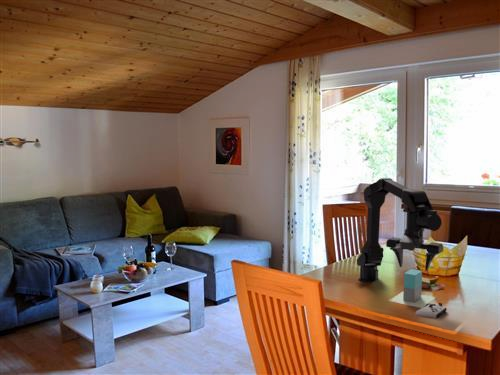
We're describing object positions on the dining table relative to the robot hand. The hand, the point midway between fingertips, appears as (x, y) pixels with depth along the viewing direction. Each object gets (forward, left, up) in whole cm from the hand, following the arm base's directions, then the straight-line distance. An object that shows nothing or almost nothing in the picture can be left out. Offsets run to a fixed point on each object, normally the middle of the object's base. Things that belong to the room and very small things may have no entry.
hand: (413, 268), depth 170 cm
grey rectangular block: (0, 0, -11) cm, 11 cm away
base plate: (0, 0, -12) cm, 12 cm away
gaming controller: (+10, -9, -13) cm, 18 cm away
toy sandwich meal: (-1, +18, -13) cm, 22 cm away
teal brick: (0, 0, -6) cm, 6 cm away
